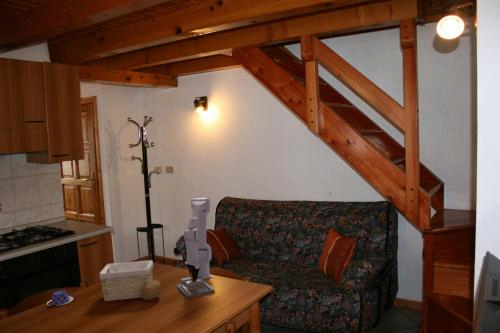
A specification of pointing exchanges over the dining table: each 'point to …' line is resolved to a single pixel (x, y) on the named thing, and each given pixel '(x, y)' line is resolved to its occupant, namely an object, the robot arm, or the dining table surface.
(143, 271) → the storage basket
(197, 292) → the base
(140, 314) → the dining table surface
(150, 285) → the potato
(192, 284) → the press handle
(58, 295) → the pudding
